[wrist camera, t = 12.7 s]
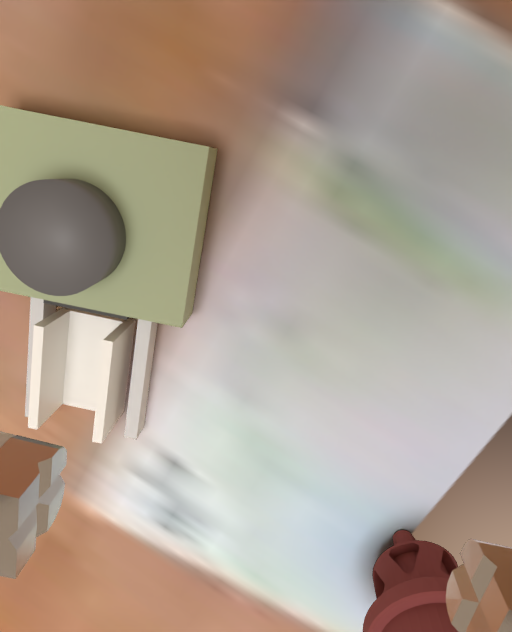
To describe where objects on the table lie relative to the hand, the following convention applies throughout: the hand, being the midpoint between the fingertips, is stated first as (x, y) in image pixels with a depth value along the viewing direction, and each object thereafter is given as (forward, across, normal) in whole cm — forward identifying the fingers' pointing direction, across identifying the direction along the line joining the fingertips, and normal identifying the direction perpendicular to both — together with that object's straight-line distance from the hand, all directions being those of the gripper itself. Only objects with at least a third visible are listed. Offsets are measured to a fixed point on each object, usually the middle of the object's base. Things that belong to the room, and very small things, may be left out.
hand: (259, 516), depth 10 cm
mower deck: (+26, +14, +6) cm, 30 cm away
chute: (+26, +13, +12) cm, 32 cm away
